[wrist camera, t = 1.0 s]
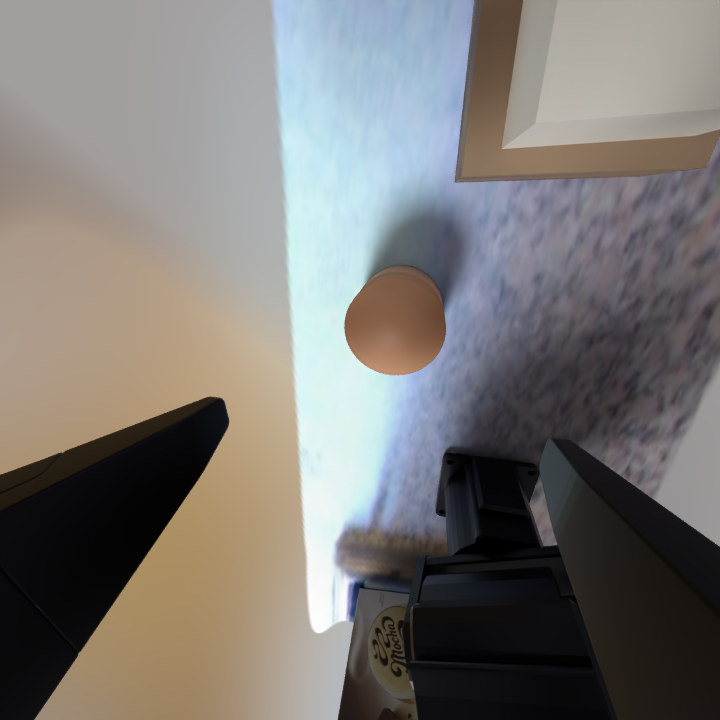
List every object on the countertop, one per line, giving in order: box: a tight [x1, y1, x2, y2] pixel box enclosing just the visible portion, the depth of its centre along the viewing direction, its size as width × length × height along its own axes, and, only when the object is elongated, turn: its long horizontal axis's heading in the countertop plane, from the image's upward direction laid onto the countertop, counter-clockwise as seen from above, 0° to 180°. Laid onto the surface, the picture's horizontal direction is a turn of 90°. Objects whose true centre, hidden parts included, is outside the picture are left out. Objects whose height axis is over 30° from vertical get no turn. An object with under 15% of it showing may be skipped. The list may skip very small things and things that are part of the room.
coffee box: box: [338, 588, 418, 720], centre depth 26 cm, size 9×6×16 cm
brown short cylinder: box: [344, 265, 446, 375], centre depth 17 cm, size 5×5×4 cm
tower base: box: [455, 0, 720, 182], centre depth 11 cm, size 8×8×4 cm
